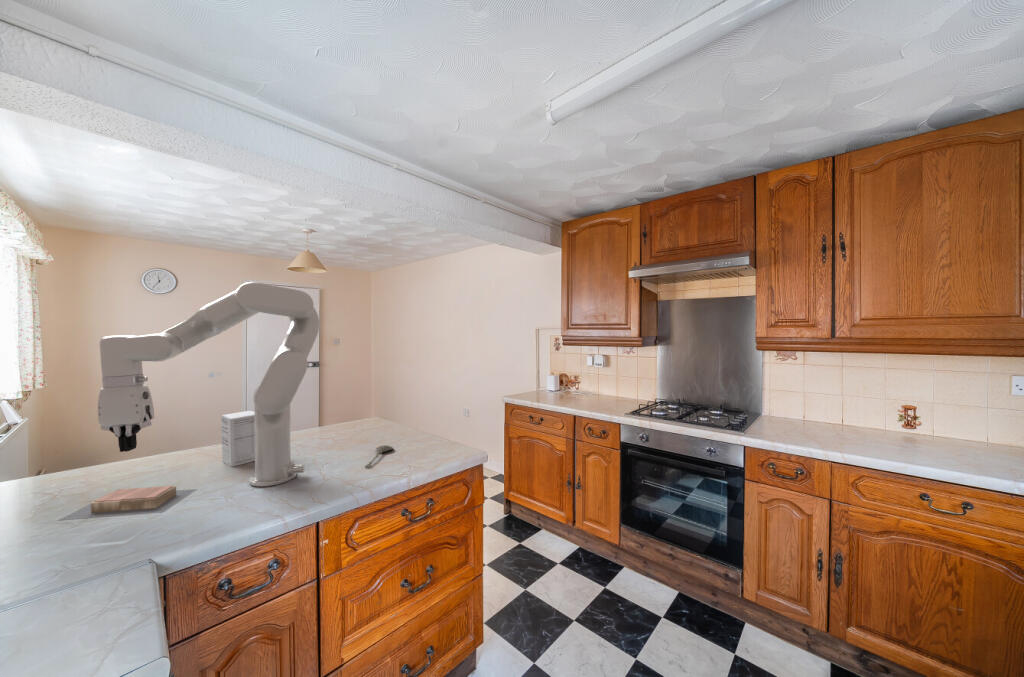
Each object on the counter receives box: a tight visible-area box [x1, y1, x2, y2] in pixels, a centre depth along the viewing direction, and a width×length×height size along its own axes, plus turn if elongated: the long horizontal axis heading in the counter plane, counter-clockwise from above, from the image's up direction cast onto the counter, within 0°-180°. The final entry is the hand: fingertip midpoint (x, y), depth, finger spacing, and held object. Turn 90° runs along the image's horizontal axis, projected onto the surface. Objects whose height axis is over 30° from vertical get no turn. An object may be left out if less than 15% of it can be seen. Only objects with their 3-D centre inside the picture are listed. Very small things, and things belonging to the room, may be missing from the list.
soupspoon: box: [364, 444, 395, 469], centre depth 139 cm, size 22×3×7 cm
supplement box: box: [220, 410, 255, 468], centre depth 134 cm, size 10×9×17 cm
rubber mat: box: [57, 488, 198, 521], centre depth 100 cm, size 22×14×1 cm, turn 101°
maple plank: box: [90, 485, 177, 513], centre depth 100 cm, size 3×8×14 cm
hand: (128, 449), depth 100 cm, fingers closed
